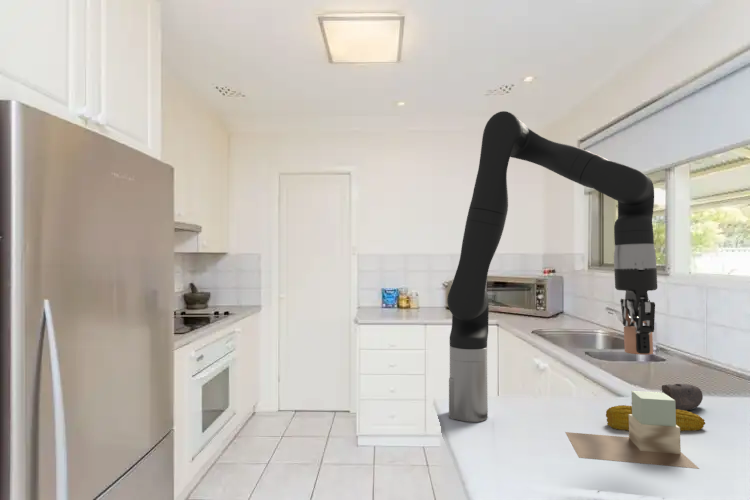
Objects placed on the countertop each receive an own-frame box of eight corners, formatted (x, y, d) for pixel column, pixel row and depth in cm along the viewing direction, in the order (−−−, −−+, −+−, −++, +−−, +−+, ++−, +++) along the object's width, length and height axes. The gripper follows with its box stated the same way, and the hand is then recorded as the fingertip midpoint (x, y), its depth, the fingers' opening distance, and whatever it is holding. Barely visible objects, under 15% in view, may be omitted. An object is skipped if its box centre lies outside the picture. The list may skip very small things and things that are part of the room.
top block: (641, 424, 90) (641, 398, 90) (632, 414, 96) (631, 390, 96) (676, 426, 88) (675, 400, 89) (663, 417, 94) (663, 392, 95)
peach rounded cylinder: (629, 354, 90) (627, 328, 91) (621, 350, 95) (620, 326, 95) (657, 354, 89) (655, 329, 89) (648, 350, 94) (647, 326, 94)
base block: (640, 450, 89) (639, 424, 89) (629, 437, 96) (628, 413, 96) (680, 454, 88) (679, 427, 88) (666, 441, 94) (665, 416, 95)
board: (579, 462, 86) (578, 457, 86) (565, 436, 99) (565, 432, 99) (699, 474, 81) (699, 468, 81) (668, 445, 95) (667, 440, 95)
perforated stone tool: (692, 404, 125) (691, 378, 125) (712, 409, 120) (711, 383, 120) (654, 410, 119) (653, 383, 120) (673, 416, 115) (673, 388, 115)
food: (615, 436, 100) (615, 409, 100) (602, 427, 106) (602, 401, 106) (711, 437, 100) (710, 409, 100) (693, 428, 106) (692, 402, 106)
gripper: (606, 267, 101) (609, 345, 100) (625, 266, 87) (629, 356, 86) (643, 267, 99) (647, 346, 98) (669, 266, 85) (673, 357, 84)
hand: (638, 350), depth 92 cm, fingers closed on peach rounded cylinder, 5 cm apart
